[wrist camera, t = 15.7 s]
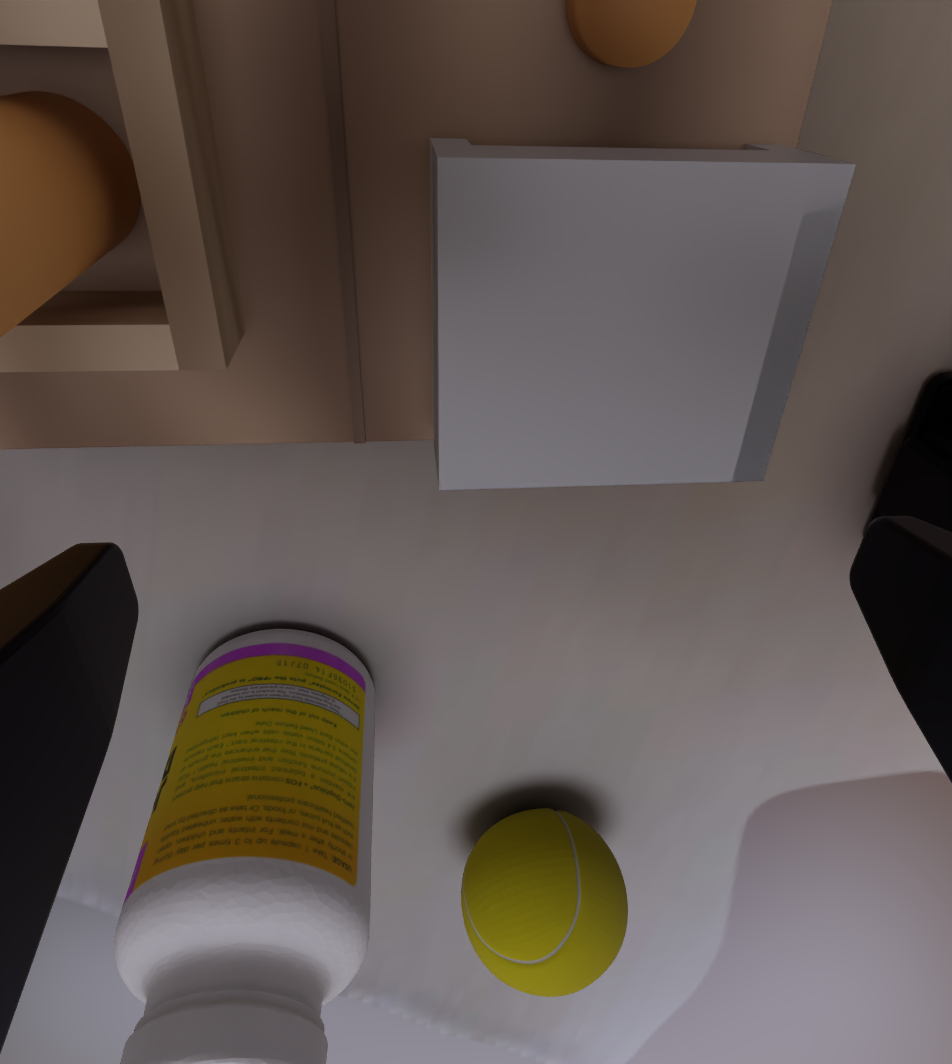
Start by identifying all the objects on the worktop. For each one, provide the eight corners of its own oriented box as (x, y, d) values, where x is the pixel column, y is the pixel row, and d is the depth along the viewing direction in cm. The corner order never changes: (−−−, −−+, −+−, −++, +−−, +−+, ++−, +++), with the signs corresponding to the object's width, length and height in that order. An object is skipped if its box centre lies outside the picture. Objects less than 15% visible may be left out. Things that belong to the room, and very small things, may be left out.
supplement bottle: (170, 630, 25) (5, 1068, 14) (362, 610, 25) (340, 1022, 14) (221, 753, 28) (120, 1171, 18) (386, 734, 29) (383, 1133, 18)
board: (856, -247, 14) (1000, -337, 11) (706, 411, 22) (762, 476, 19) (-260, -329, 12) (-504, -470, 9) (20, 424, 20) (-54, 499, 17)
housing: (780, 144, 16) (856, 164, 14) (714, 423, 20) (763, 480, 18) (429, 137, 15) (437, 157, 13) (432, 429, 19) (439, 490, 17)
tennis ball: (428, 814, 32) (436, 981, 26) (568, 756, 31) (608, 920, 25) (498, 881, 36) (517, 1040, 30) (625, 833, 35) (671, 990, 29)
